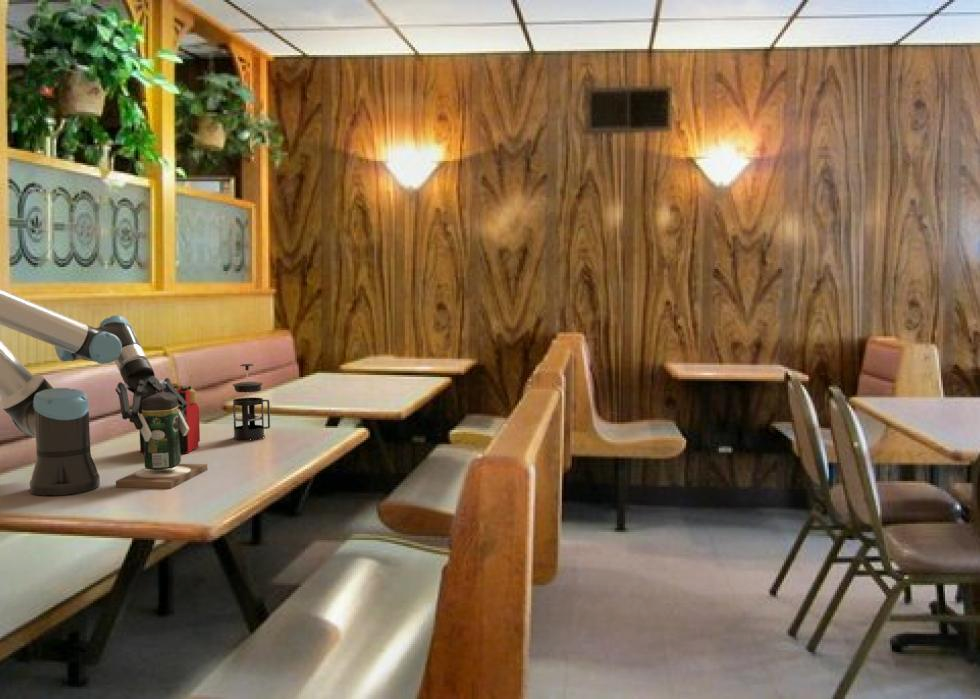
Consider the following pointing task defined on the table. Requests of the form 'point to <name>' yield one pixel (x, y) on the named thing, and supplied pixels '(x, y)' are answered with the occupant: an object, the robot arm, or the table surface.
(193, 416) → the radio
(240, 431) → the french press
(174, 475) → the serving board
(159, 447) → the coffee jar
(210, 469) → the table surface
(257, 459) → the table surface
